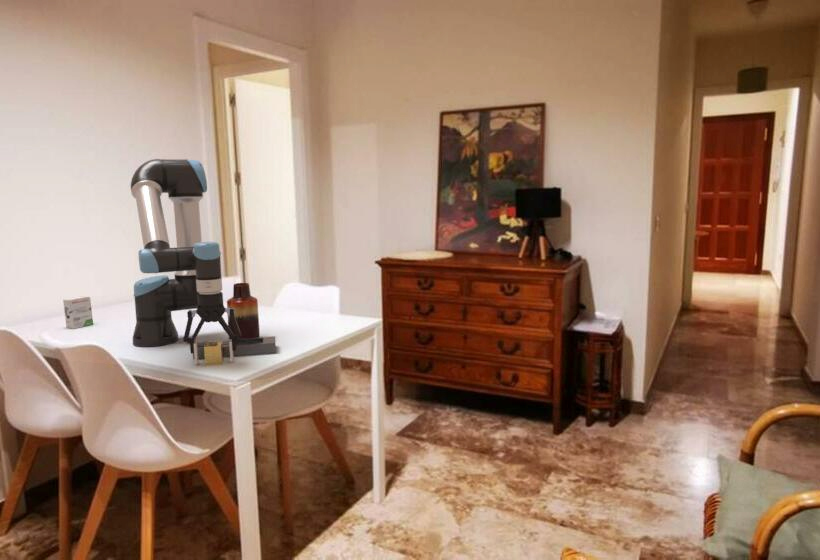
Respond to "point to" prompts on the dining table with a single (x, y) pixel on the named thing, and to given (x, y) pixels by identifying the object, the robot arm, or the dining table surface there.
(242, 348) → the rail
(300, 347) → the dining table surface
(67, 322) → the ink box
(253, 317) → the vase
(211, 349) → the yellow small box
